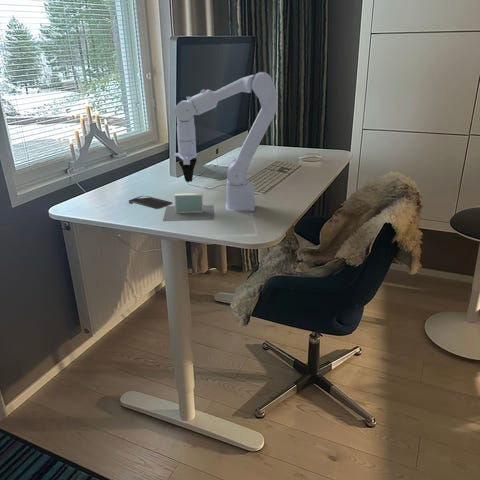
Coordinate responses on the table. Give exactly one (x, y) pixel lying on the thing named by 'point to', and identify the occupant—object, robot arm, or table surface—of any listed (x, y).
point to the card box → (188, 202)
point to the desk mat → (189, 214)
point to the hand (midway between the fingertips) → (188, 181)
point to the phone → (150, 202)
